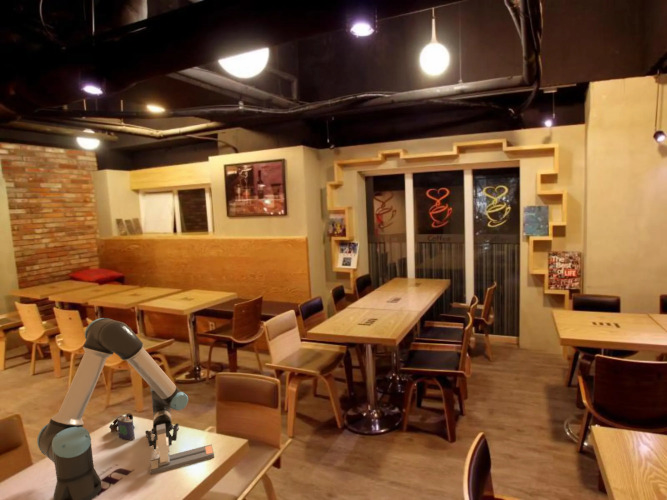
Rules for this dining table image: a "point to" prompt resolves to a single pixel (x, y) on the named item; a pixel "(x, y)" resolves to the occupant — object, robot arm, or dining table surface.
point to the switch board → (183, 458)
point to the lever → (162, 445)
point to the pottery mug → (115, 425)
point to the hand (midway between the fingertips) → (162, 449)
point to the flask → (125, 428)
